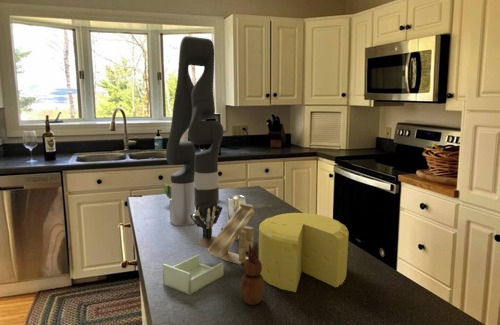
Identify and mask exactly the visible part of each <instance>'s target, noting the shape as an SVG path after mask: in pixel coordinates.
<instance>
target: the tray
mask: <svg viewBox="0 0 500 325" xmlns="http://www.w3.org/2000/svg"><path fill="white" fill-rule="evenodd" d="M200 260H201V259H200V254H196V255H193V256H192V257H190V258H188V259H185V260H183V261H181V262H178V263H177V264H175V265H173V266H172V265H169V264H166V263H163V264H162V282H163V283H162V285H164V286H166V287H168V288H171V289H172V290H175V291H178V292H181V293H183V294H185V295H187V294H188V296H191V295H192V294H194V292H195V293H196V292H198V291H200V290H202V289H203V288H205V287H206V285H207V286H208V285H210V284H211V282H212V283H213V282H215V281H217V280H218V278H219V279H220V278H222V277H224V271H225V270H224V262H220V263H218V264H215V265H213V266H209V265H207V264H205V263H202V262H201V261H200ZM200 262H201V263H200ZM199 289H200V290H199Z"/></svg>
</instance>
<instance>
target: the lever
mask: <svg viewBox="0 0 500 325" xmlns="http://www.w3.org/2000/svg"><path fill="white" fill-rule="evenodd" d="M255 211H256V210H255V207H254V205H253V204H249V203H246V204H245V203H240V207H239V208H238V210H237V211H236V212H235V214H234V215H233V216H232V218H231V219H230V220H229V221H227V223H226V224H225V225H224V226H223V227H224V228H223V229H222V231H220V232H219V233H218V234H217V236H213V235H212V236H211V239H209V240H206V239H204V238H203V236H201V238H200V239H199V241H198V242H197V245H198V246H199V247H203V248H206V249H207V252H208V253H209V254H210V255H211V256H213V257H215V258H217V257H218V258H217V259H220V258H222V257H223V256H224V255H225V253H226V252H227V250H228V251H229V249H230V248H231V247H232V245H233V243H234V242H235V241H236V240H235V239H236V238H237V236H238V235H239V232H241V231H242V229H243V228H244V227H245V226H247V224H248V222H249V221H250V220H251V218H252V217H253V215H254V214H255Z"/></svg>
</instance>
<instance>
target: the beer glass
mask: <svg viewBox="0 0 500 325" xmlns="http://www.w3.org/2000/svg"><path fill="white" fill-rule="evenodd" d="M240 203H245V204H247V202H246V197H245V196H244V195H240V194H239V195H238V194H237V195H235V194H234V195H229V196H227V200H226V214H227V220H228V221H229V220H230V219H231V218H232V216H233V215H234V214H235V212H236V211H237V210H238V208H239V207H240ZM228 221H227V222H228ZM242 231H243V229H242ZM237 240H238V241H239V235H238V236H237V238H236V239H235V241H237Z"/></svg>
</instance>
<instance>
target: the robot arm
mask: <svg viewBox="0 0 500 325" xmlns="http://www.w3.org/2000/svg"><path fill="white" fill-rule="evenodd" d="M180 41H181V42H180V46H179V55H178V69H177V82H176V87H175V93H174V98H173V99H174V100H173V106H172V118H171V125H170V130H169V135H168V139H167V140H168V141H167V144H166V149H165V159H166V162H167V164H168V165H170V166H182V168H181V169H179V170H178V171H175V172H173V173H171V175H170V185H171V199H169V217H170V218H169V219H170V220H169V221H170V223H172V225H173V226H177V227H178V226H179V227H180V226H181V227H183V226H191V225H193V224H195V225H196V227H198V228H200V229H202V237H203V238H204V239H206V240H209V239H211V236H213V227H214V225H216V224H217V222H218V220H219V218H220V215H221V213H222V211H223V206H220V205H218V201H219V199H220V197H219V196H220V192H219V191H220V190H219V188H220V186H219V184H220V183H219V179H220V178H219V173H218V171H219V170H218V169H219V168H218V167H219V166H218V165H219V162H218V159H219V152H220V147H221V143H222V140H223V135H224V126H223V125H222V124H221V122H220V121H218V120H209V119H212V118H213V117H214V115H215V113H216V106H215V96H214V78H215V77H214V75H215V47H214V46H215V45H214V43H213V41H212V40H211V39H209V38H205V37H198V36H189V35H185V36H183V37H182V39H181V40H180ZM190 66H196V67H197V66H198V67H204V68H203V72H202V73H201V75H200V77H199V78H198V79H197V81H196V82H195V84H194V83H193V81H192V78H191V76H190V72H189V67H190ZM186 131H187V137H188V140H185V141H181V139H182V137H183V136H184V134H185V133H186ZM195 145H210V147H209V148H208V149H206V150H202V151H199V152H196V147H195ZM195 201H196V203H195Z"/></svg>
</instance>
